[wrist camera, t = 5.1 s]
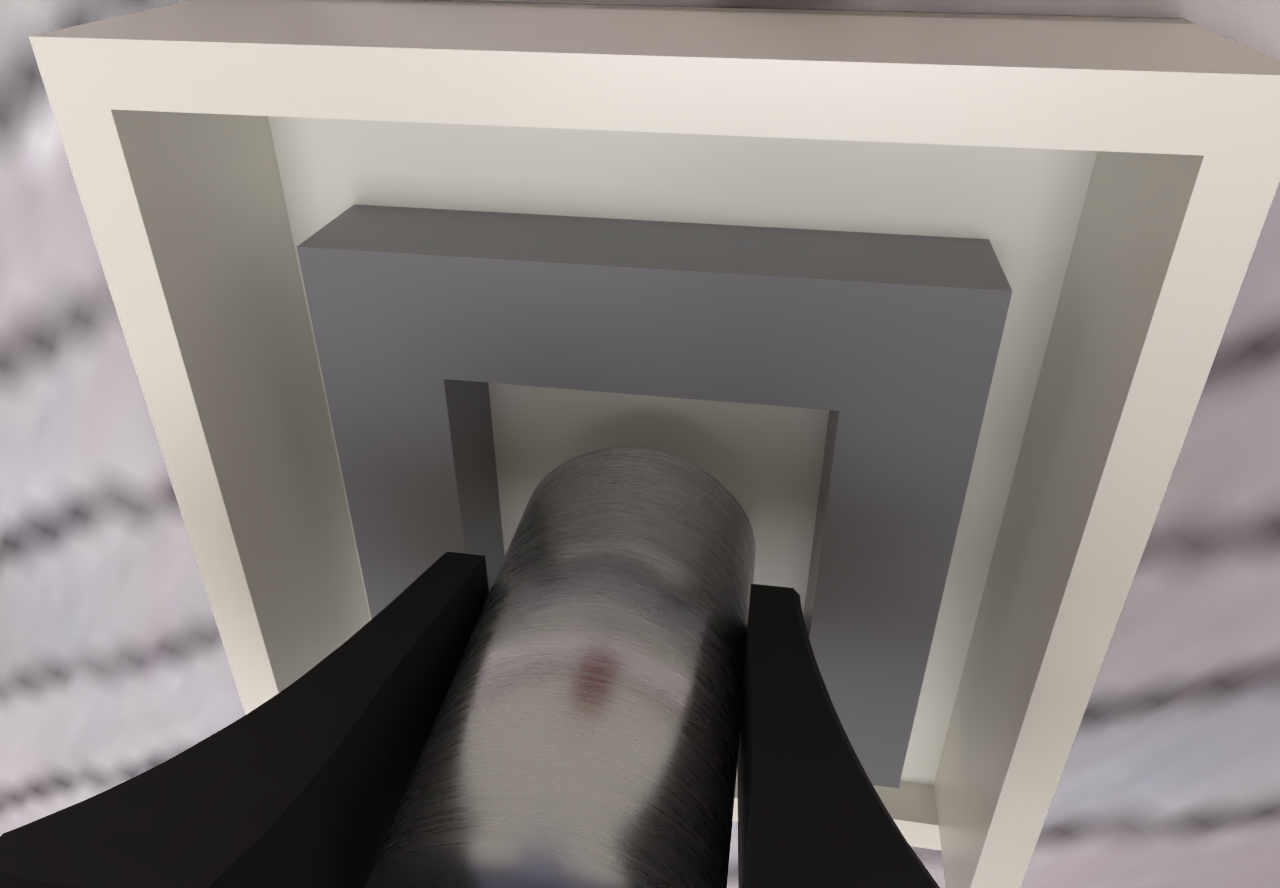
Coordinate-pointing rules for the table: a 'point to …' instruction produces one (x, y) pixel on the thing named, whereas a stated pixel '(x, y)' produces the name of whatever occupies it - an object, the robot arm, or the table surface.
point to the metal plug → (592, 694)
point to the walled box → (689, 320)
